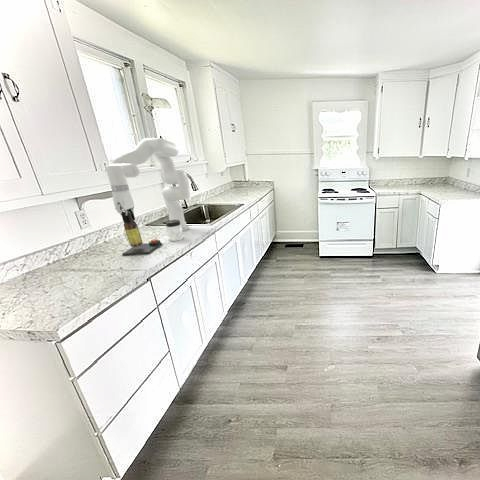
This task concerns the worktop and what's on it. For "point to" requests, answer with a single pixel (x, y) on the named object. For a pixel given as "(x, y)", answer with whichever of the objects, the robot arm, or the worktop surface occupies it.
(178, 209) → the robot arm
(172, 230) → the jar
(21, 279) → the worktop surface
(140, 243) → the sauce bottle
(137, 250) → the scale
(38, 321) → the worktop surface
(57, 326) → the worktop surface
